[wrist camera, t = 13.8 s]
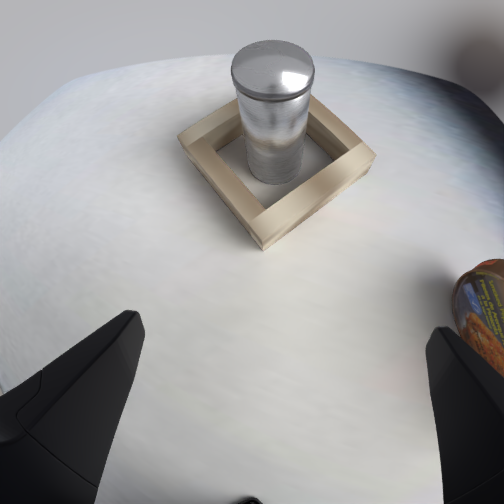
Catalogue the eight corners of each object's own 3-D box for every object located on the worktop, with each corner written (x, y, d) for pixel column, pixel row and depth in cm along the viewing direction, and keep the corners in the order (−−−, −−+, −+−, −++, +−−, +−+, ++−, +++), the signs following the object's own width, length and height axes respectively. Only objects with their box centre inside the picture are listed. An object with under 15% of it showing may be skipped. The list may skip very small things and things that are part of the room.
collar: (263, 251, 23) (261, 240, 20) (186, 154, 26) (176, 135, 23) (367, 173, 24) (376, 154, 21) (283, 94, 27) (284, 72, 24)
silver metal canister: (252, 190, 24) (236, 96, 14) (243, 144, 26) (225, 45, 15) (308, 180, 24) (326, 84, 14) (295, 135, 25) (301, 36, 15)
